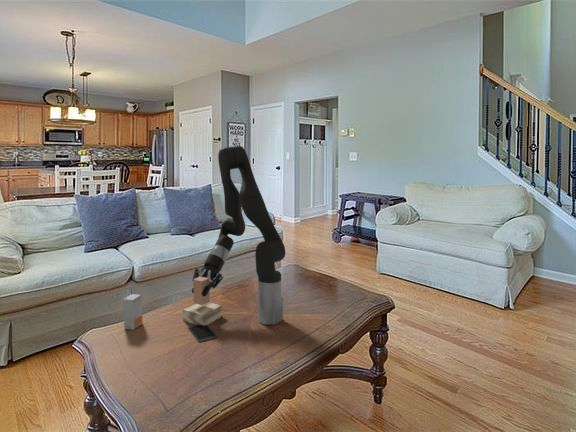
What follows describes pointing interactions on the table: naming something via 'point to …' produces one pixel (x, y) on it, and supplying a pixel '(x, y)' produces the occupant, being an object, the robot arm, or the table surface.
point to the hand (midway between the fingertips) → (198, 294)
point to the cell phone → (202, 333)
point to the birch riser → (202, 313)
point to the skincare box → (132, 311)
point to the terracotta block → (200, 291)
